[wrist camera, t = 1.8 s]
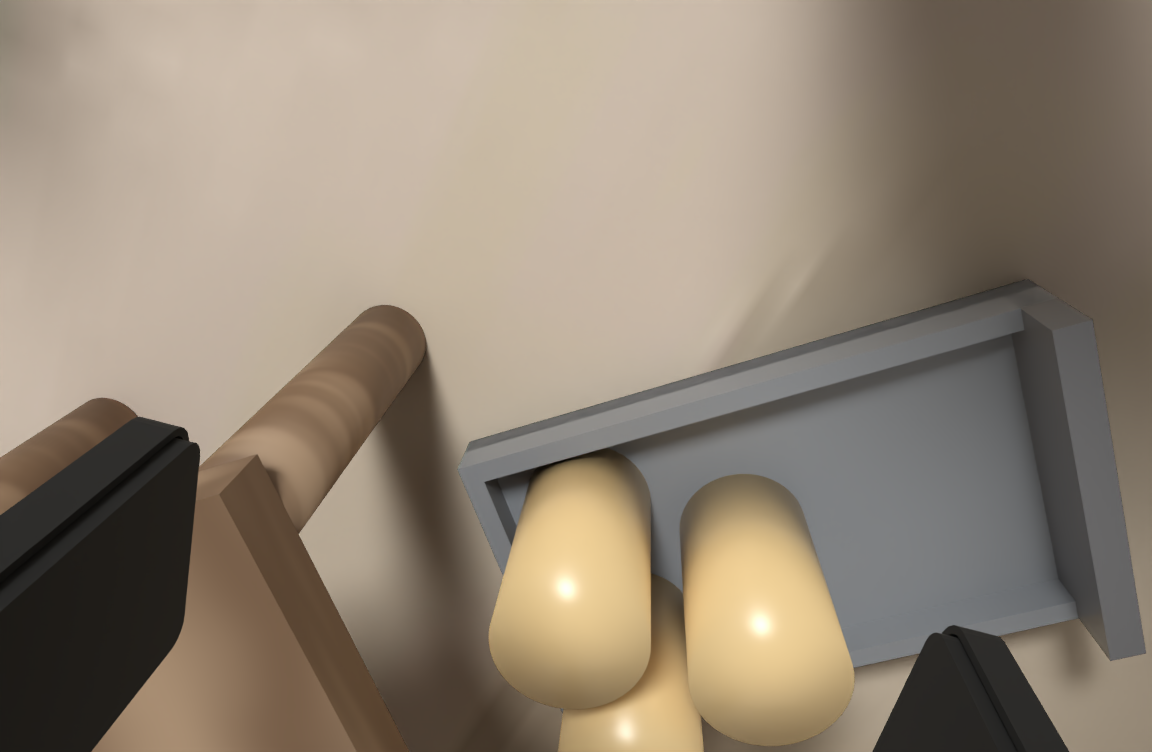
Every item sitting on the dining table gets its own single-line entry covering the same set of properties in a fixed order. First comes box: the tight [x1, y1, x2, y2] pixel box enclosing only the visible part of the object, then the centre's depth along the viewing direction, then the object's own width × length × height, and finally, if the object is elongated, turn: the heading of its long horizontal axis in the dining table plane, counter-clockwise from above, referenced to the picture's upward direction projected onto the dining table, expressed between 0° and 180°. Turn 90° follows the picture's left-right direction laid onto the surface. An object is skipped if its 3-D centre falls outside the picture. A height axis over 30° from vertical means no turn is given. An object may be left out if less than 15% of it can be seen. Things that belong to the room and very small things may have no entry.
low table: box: [0, 305, 426, 752], centre depth 32 cm, size 16×26×16 cm, turn 19°
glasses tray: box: [457, 279, 1146, 752], centre depth 31 cm, size 22×13×10 cm, turn 109°
